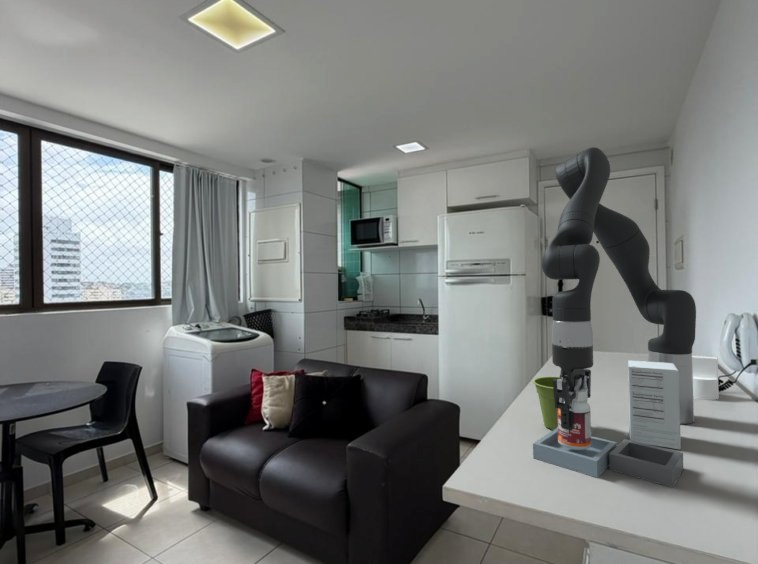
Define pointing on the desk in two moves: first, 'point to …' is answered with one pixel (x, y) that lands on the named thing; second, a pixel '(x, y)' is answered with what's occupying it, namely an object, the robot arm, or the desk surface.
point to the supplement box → (654, 404)
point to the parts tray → (574, 454)
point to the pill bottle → (577, 425)
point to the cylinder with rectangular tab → (705, 378)
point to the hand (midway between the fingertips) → (573, 424)
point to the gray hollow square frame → (647, 462)
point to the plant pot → (547, 401)
